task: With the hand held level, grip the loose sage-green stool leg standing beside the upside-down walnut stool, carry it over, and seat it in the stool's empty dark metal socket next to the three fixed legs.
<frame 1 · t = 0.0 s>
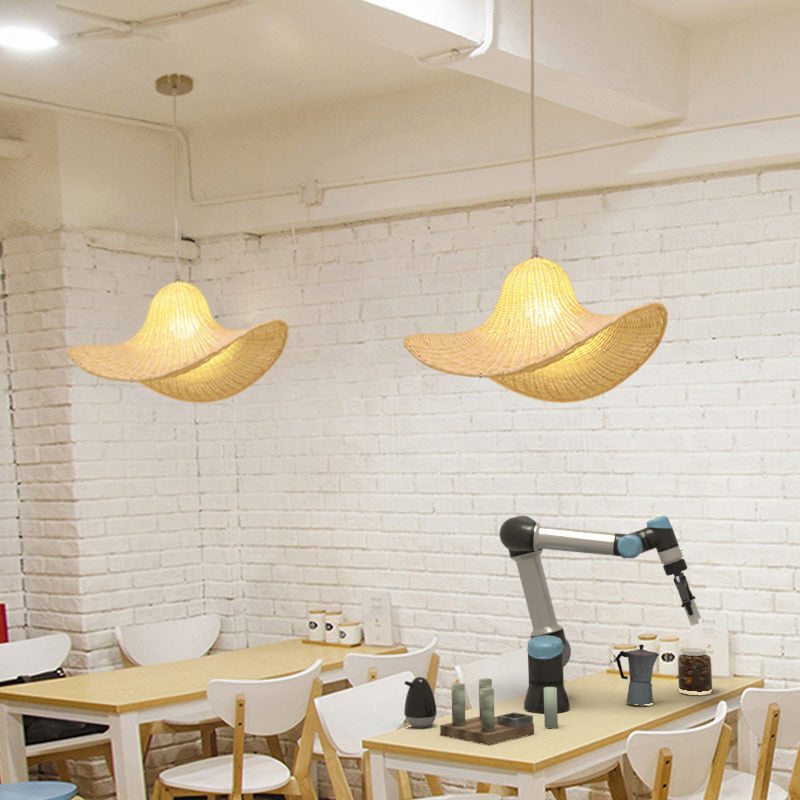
hand: (696, 622, 391), 28 cm above the table, tool tilted 20°, fingers open, 13 cm apart
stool: (487, 734, 354), on the table
green leg: (551, 727, 363), on the table
pump dispenser: (420, 726, 368), on the table
moka pot: (639, 705, 395), on the table
jar: (695, 693, 414), on the table
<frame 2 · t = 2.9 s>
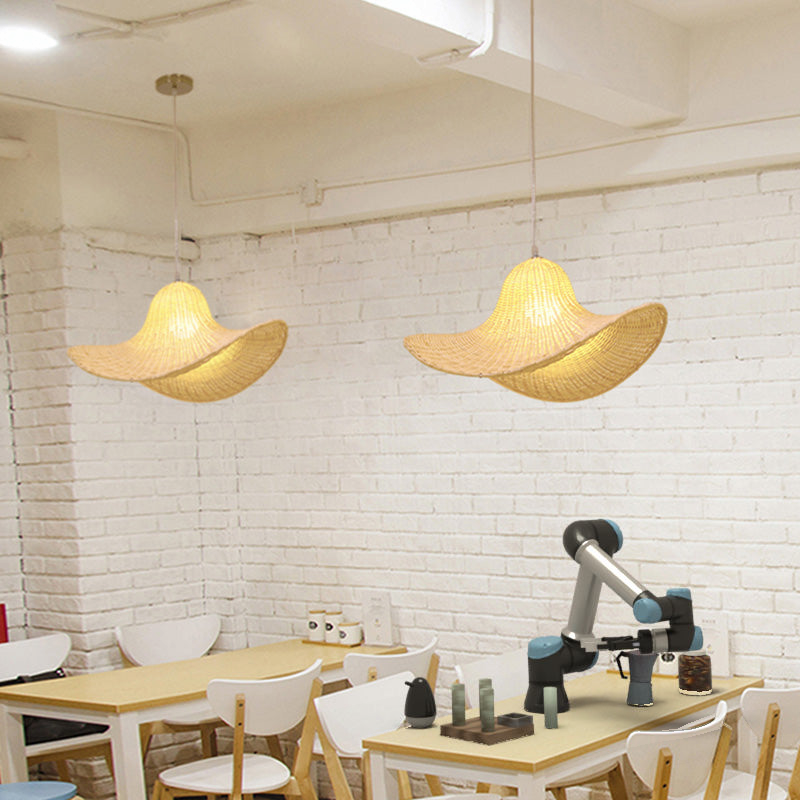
hand: (583, 645, 365), 25 cm above the table, tool horizontal, fingers open, 13 cm apart
nothing on the table moved.
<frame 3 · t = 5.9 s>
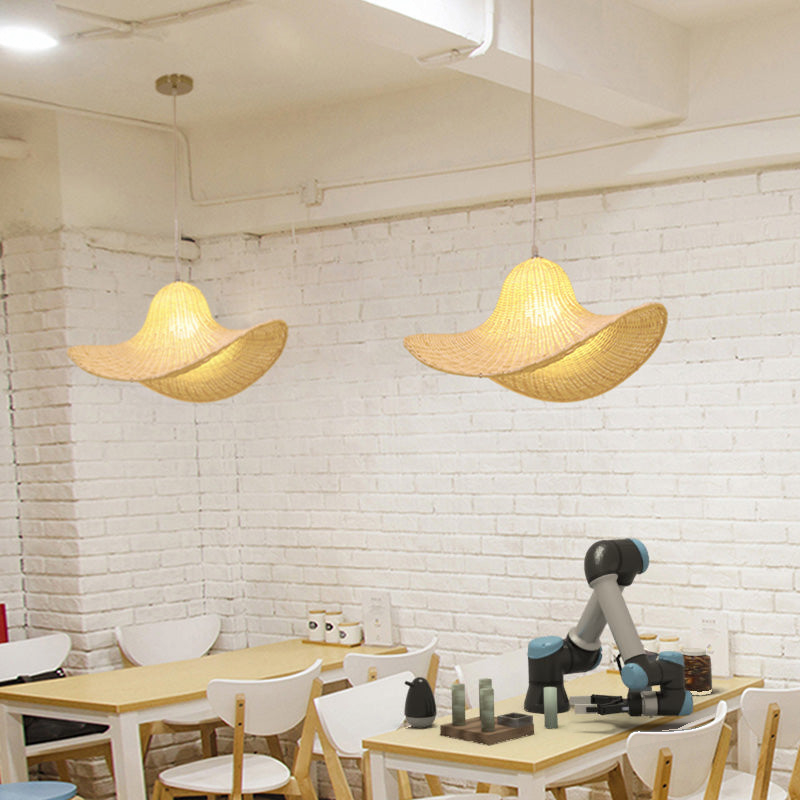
hand: (572, 704, 362), 7 cm above the table, tool horizontal, fingers open, 13 cm apart
nothing on the table moved.
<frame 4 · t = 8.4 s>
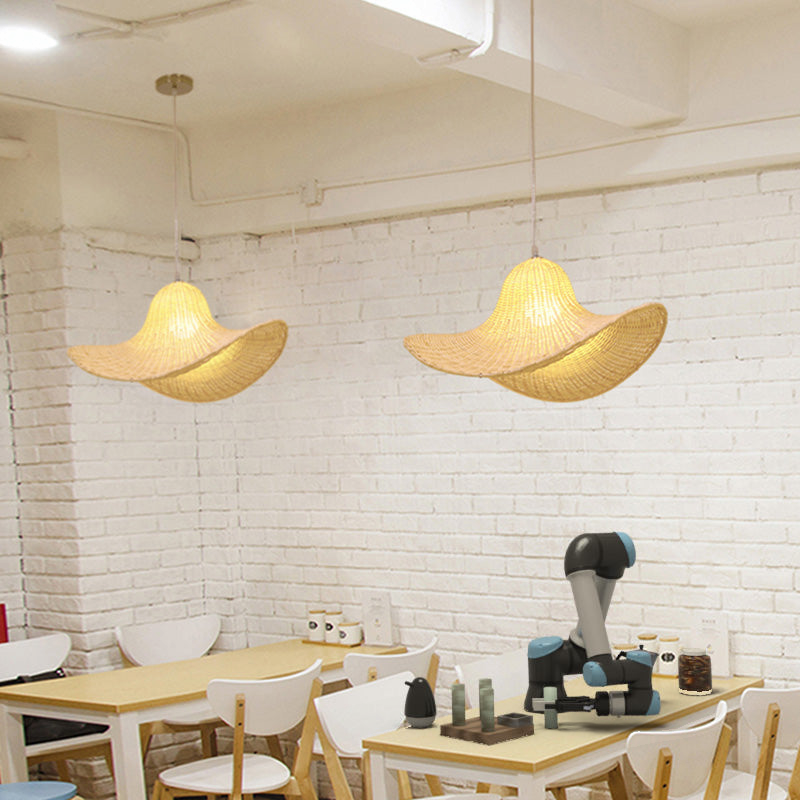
hand: (533, 704, 363), 7 cm above the table, tool horizontal, fingers closed on green leg, 4 cm apart
green leg: (551, 727, 362), on the table, touching gripper
everything else where it was.
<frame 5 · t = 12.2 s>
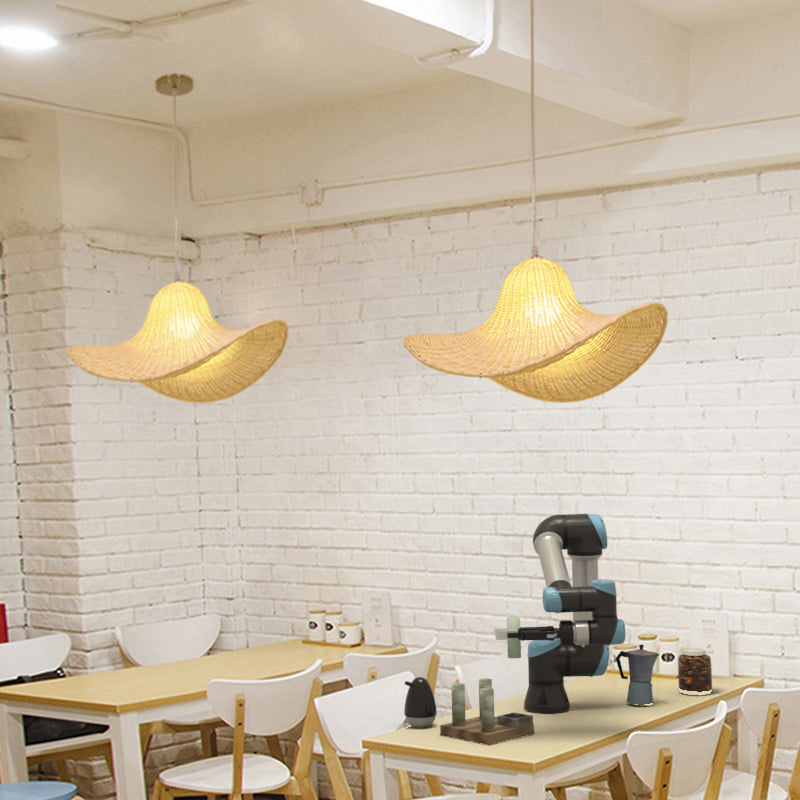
hand: (495, 634, 356), 30 cm above the table, tool horizontal, fingers closed on green leg, 4 cm apart
green leg: (514, 657, 355), point 23 cm above the table, touching gripper
everything else where it was.
when the fingers open (11 cm above the table, at t = 16.0 s): green leg drops 1 cm, resting on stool.
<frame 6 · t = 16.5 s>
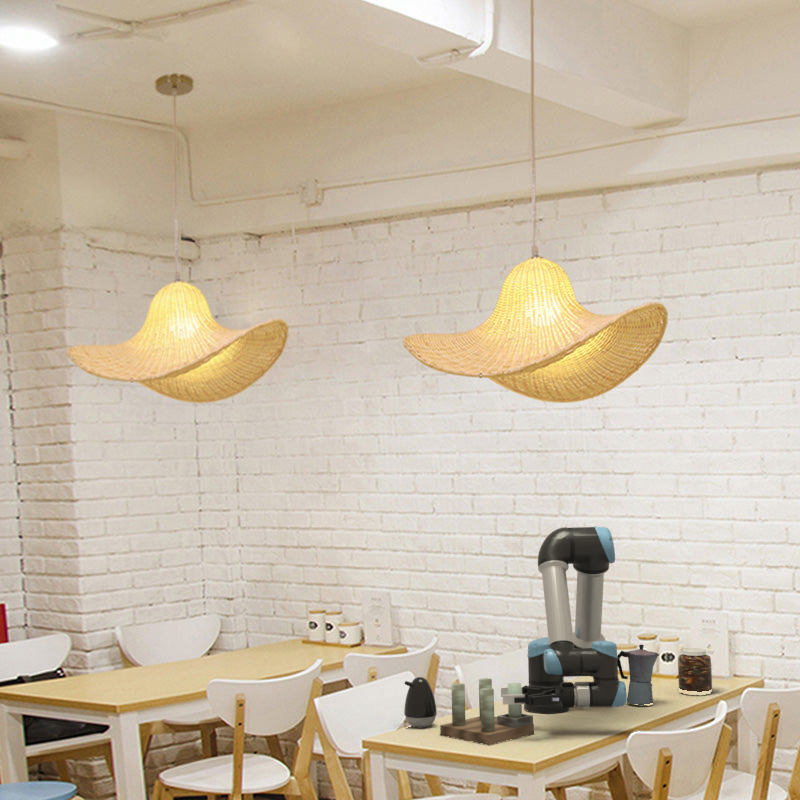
hand: (501, 695, 355), 11 cm above the table, tool horizontal, fingers open, 11 cm apart
green leg: (515, 724, 354), point 3 cm above the table, touching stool
everything else where it was.
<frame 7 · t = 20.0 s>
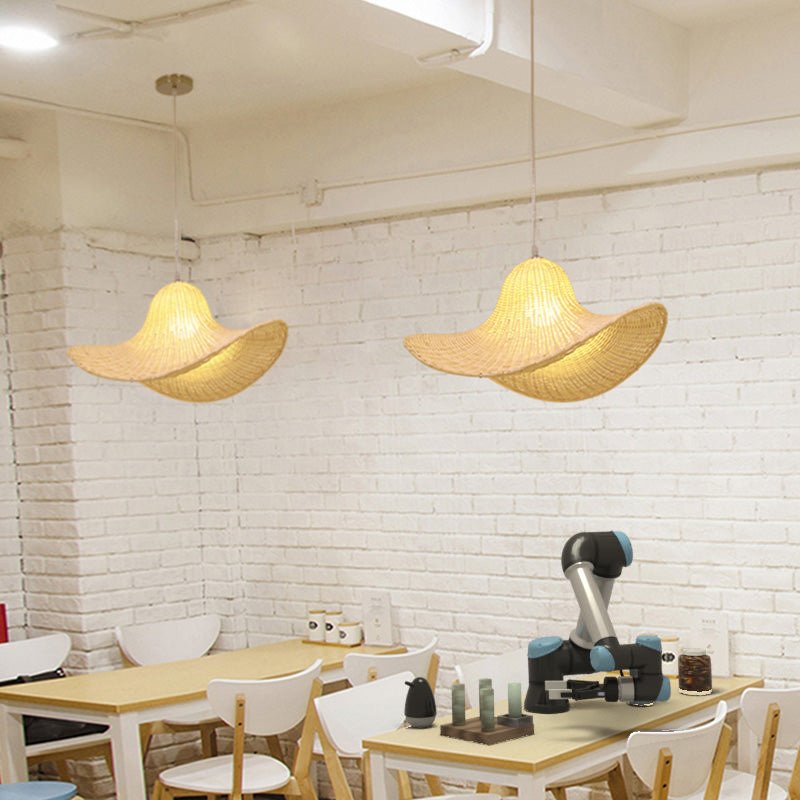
hand: (546, 689, 354), 13 cm above the table, tool horizontal, fingers open, 13 cm apart
nothing on the table moved.
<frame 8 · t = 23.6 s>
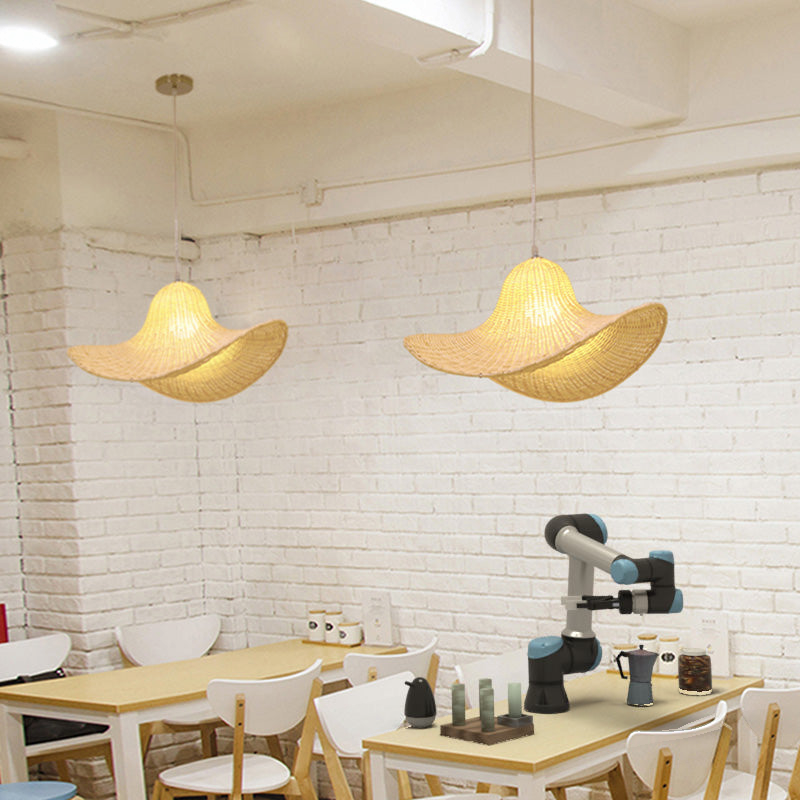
hand: (563, 603, 365), 38 cm above the table, tool horizontal, fingers open, 13 cm apart
nothing on the table moved.
at the end: green leg 0.1 cm from the target spot on the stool, point 3.0 cm above the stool's base; green leg tilted 0°; the gripper is holding nothing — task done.
